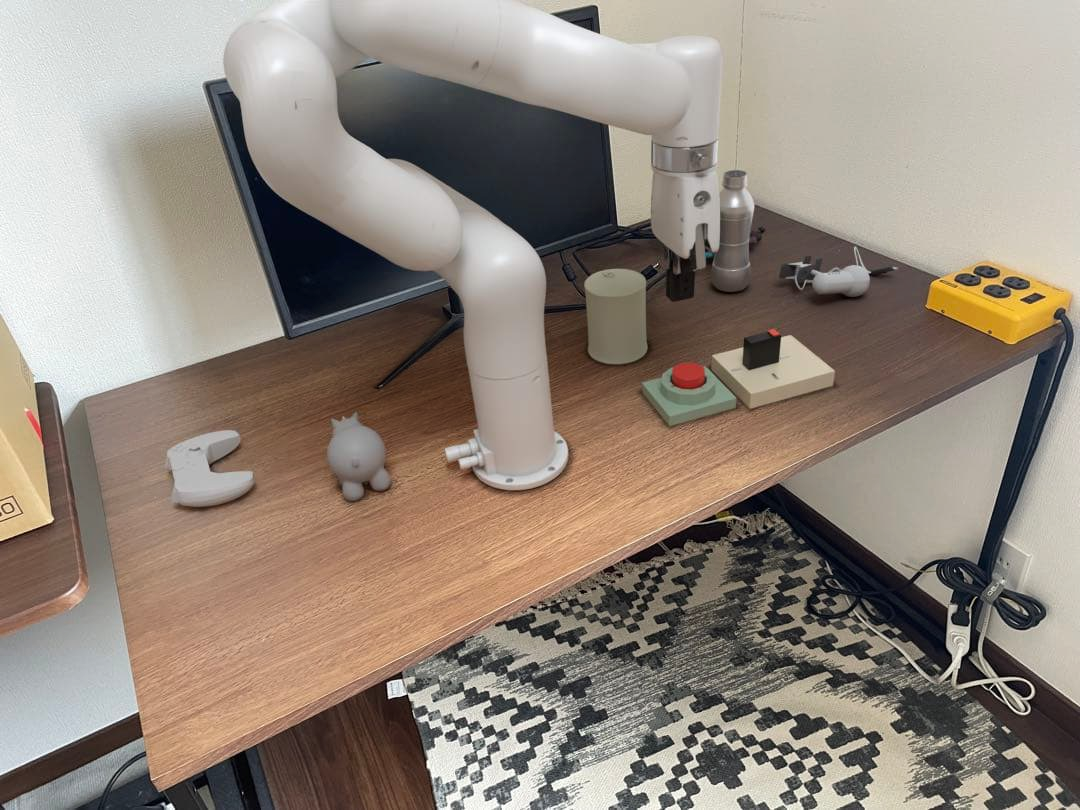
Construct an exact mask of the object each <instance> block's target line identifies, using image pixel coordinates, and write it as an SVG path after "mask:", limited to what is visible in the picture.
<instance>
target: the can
mask: <svg viewBox="0 0 1080 810" xmlns="http://www.w3.org/2000/svg"><path fill="white" fill-rule="evenodd" d="M583 284H584V285H583V286H584V291H585V292H584V294H585V304H586V305H585V306H586V320H587V340H588V341H587V343H588V344H587V345H588V346H587V352H588V355H589V356H590V357H591V358H592V359H593V360H595V361H597V362H599V363H602V364H607V365H626V364H631V363H634V362H636V361H638V360H640V359H641V358H643V357H645V355H646V353H647V352H648V342H647V341H648V340H647V306H646V305H647V301H646V300H647V297H646V295H647V279H646V277H645V276H644V275H643V274H642V273H640V272H638V271H635V270H632V269H628V268H610V269H604V270H601V271H596V272H594V273H592V274H591V275H589V276H588V277H587V278H586V279H585V280H584V283H583Z"/></svg>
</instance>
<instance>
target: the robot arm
mask: <svg viewBox="0 0 1080 810" xmlns="http://www.w3.org/2000/svg"><path fill="white" fill-rule="evenodd" d="M723 54H724V52H723V48H722V45H721V43H720V41H718V40H717V39H716V38H714V37H711V36H707V35H701V34H700V35H699V34H697V35H696V34H689V35H687V34H686V35H678V36H671V37H667V38H665V39H663V40H661V41H656V42H655V41H654V42H624V41H621V40H618V39H615V38H612V37H610V36H606V35H603V34H601V33H598V32H595V31H592V30H590V29H587V28H584V27H582V26H579V25H576V24H574V23H571V22H569V21H567V20H564V19H562V18H560V17H559V16H558V17H557V16H556V15H554V14H552V13H548V12H547V11H544V10H542V9H539V8H537V7H534V6H530V5H528V4H526V3H523V2H521V1H518V0H278V1H276V2H275V3H272V4H271V5H269V6H268V7H266V8H264V9H263V10H261V11H258V12H257V13H255V14H254V15H252V16H250V17H249V18H247V19H246V20H245V21H243V22H242V23H240V24H239V25H238V26H237V27H236V28H235V29H234V31H233V32H232V33H231V34H230V36H229V38H228V39H227V41H226V43H225V47H224V51H223V56H222V57H223V58H222V63H223V72H224V75H225V79H226V81H227V84H228V85H229V87H230V89H231V91H232V92H233V94H234V95H235V96H236V98H237V99H238V101H239V103H240V104H239V105H240V110H241V118H242V126H243V132H244V133H243V134H244V138H245V142H246V146H247V150H248V152H249V155H250V158H251V161H252V162H253V164H254V166H255V168H256V170H257V172H258V173H259V175H260V177H261V178H262V180H263V181H265V183H266V184H267V186H268V187H269V188H270V189H271V190H272V191H273V192H274V193H275V194H277V195H278V196H279V197H280V198H282V200H284V201H286V202H287V203H289V204H290V205H291V206H294V207H295V208H297V209H298V210H300V211H302V213H305V214H306V215H309V216H311V217H312V218H314V219H316V220H318V221H320V222H322V223H323V224H325V225H327V226H329V227H330V228H332V229H333V230H335V231H336V232H337V233H339V234H342V235H343V236H345V237H347V238H349V239H351V240H352V241H355V243H358V244H360V245H362V246H364V247H365V248H367V249H369V250H371V251H372V252H374V253H377V254H378V255H380V256H381V257H383V258H384V259H386V260H387V261H389V262H391V263H392V264H394V265H396V266H398V267H401V268H402V269H406V270H410V271H415V272H429V271H430V272H431V271H432V272H435V273H436V274H437V275H439V276H440V277H441V278H442V279H443V280H444V281H445V282H446V283H447V284H448V285H449V287H450V288H451V289H452V290H453V291H454V292H455V294H456V295H457V296H458V298H459V300H460V302H461V305H462V309H463V345H464V354H465V359H466V365H467V370H468V375H469V381H470V387H471V394H472V398H473V406H474V411H475V418H476V423H477V424H476V425H477V428H476V429H473V437H472V438H470V439H469V438H468V439H467V442H466V443H462V444H456V445H451V446H447V447H444V448H443V451H444V456H445V459H446V462H447V463H448V464H450V463H453V462H457V461H458V466H459V469H460V470H461V471H462V470H465V469H470V468H471V467H472V471H473V473H474V475H475V476H476V477H477V478H478V479H479V481H481V482H482V483H484V484H485V485H487V486H488V487H489V486H490V487H492V488H495V489H499V490H504V491H525V490H532V489H534V488H537V487H540V486H541V487H542V486H544V485H546V484H548V483H550V482H551V481H553V480H554V479H556V478H557V477H559V475H561V474H562V473H563V471H564V469H566V466H567V464H568V462H569V456H570V455H569V446H568V444H567V441H566V440H565V439H564V437H563V436H562V435H561V434H560V433H558V432H557V431H555V425H554V413H553V404H552V396H551V385H550V383H551V382H550V376H549V375H550V373H549V365H548V364H549V363H548V354H547V346H546V345H547V344H546V336H545V335H546V333H545V304H546V297H547V296H546V294H547V276H546V270H545V268H544V264H543V262H542V260H541V257H540V256H539V254H538V253H537V251H536V249H535V248H533V246H532V245H531V244H530V243H529V242H528V240H526V239H525V237H523V236H521V234H519V233H518V232H517V231H515V230H514V229H512V227H510V226H509V225H507V224H505V223H504V222H503V221H501V220H500V219H499V218H498V217H497V216H495V215H494V214H492V213H491V212H490V211H488V210H487V209H486V208H484V207H483V206H481V205H479V204H478V203H476V202H474V201H473V200H471V199H470V198H469V197H467V196H465V195H463V194H462V193H460V192H459V191H457V190H455V189H454V188H452V187H451V186H450V185H448V184H446V183H445V182H443V181H441V180H439V179H438V178H436V177H435V176H434V175H432V174H430V173H428V172H427V171H425V170H424V169H422V168H420V167H419V166H417V165H416V164H413V163H411V162H409V161H407V160H404V159H399V158H385V157H384V156H382V155H381V154H379V153H378V152H377V151H375V150H374V149H373V148H371V147H370V146H367V145H366V144H365V143H363V142H361V141H360V140H358V139H356V138H354V137H353V136H352V135H350V134H349V132H347V131H346V129H345V128H344V126H343V124H342V122H341V120H340V116H339V110H338V109H339V108H338V86H337V79H338V78H340V77H342V76H343V75H344V74H346V73H348V72H349V71H351V70H353V69H354V68H356V67H358V66H359V65H360V64H362V63H363V62H365V61H366V60H368V59H369V58H371V59H372V60H375V61H377V62H379V63H382V64H385V65H387V66H391V67H395V68H398V69H401V70H405V71H408V72H412V73H416V74H418V75H419V74H420V75H424V76H427V77H432V78H435V79H436V78H437V79H440V80H444V81H447V82H450V83H454V84H459V85H463V86H466V87H469V88H472V89H476V90H479V91H483V92H486V93H489V94H494V95H496V96H501V97H504V98H507V99H511V100H513V101H517V102H519V103H524V104H526V105H527V104H528V105H532V106H535V107H536V106H537V107H541V108H546V109H551V110H555V111H559V112H563V113H566V114H570V115H573V116H576V117H579V118H584V119H587V120H589V121H593V122H596V123H600V124H604V125H607V126H611V127H614V128H619V129H622V130H625V131H629V132H633V133H636V134H639V135H645V136H651V141H650V142H651V144H650V145H651V146H650V147H651V151H650V153H651V154H650V156H651V157H650V159H651V160H650V162H651V164H650V165H651V166H650V169H651V170H652V171H653V172H652V182H651V197H650V227H651V232H652V234H653V235H654V236H655V237H656V239H658V240H659V241H660V243H661V244H662V247H663V253H664V266H665V267H666V269H665V297H666V298H667V299H669V301H670V302H672V303H675V302H680V301H686V300H689V299H693V298H694V296H695V280H696V271H697V270H703V269H706V267H707V259H706V258H705V249H707V250H708V251H710V252H711V253H716V252H717V251H718V249H719V243H720V197H719V193H720V187H719V178H718V172H717V171H716V169H717V167H718V151H719V130H720V112H721V97H722V79H723V78H722V77H723V57H724V55H723Z"/></svg>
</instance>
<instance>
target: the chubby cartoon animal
mask: <svg viewBox="0 0 1080 810" xmlns="http://www.w3.org/2000/svg"><path fill="white" fill-rule="evenodd" d="M341 417H342V418H341V420H337V419H335V418H333V417H332V418H331V419H330V421H331V424H332V428H333V429H332V435H331V436H332V437H331V439H330V441H329V443H328V446H327V449H326V459H327V464H328V466H329V468H330V470H331V471H332V473H333V474H334V475H335V476H336V477H337V478H338V483H339V484H340V486H341V487H342V495H343V498H344V499H345V500H346V501H350V502H356V501H358V500H360V499H362V498H363V497H364V495H365V488H364V486H363V485H368V483H369V484H370V487H371V488H372V489H373V490H375V491H376V492H382V491H385V490H387V489H388V488H389V487H390V485H391V484H392V483H391V482H392V478H391V476H390V474H389V472H388V471H387V470H386V469H385V467H384V465H385V463H386V458H387V449H386V445H385V442H384V441H383V439H382V437H381V436H380V434H379V433H377V432H376V431H375V430H374V429H371V428H370V427H369V426H364V424H362V423H361V422H360V421H359V413H358V412H357V411H355V412H354V413H353V414H352V416H350V417H349V418H346V417H345V416H344V415H342V416H341Z"/></svg>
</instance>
